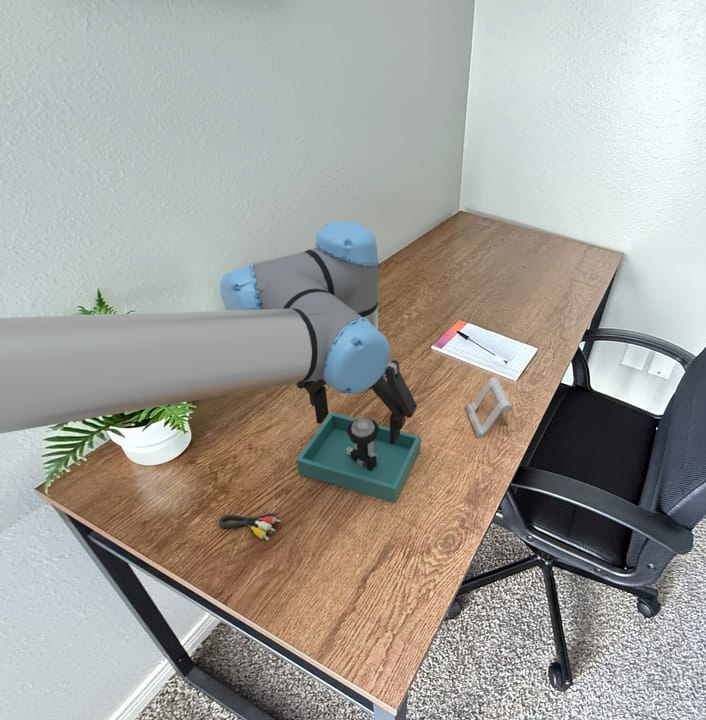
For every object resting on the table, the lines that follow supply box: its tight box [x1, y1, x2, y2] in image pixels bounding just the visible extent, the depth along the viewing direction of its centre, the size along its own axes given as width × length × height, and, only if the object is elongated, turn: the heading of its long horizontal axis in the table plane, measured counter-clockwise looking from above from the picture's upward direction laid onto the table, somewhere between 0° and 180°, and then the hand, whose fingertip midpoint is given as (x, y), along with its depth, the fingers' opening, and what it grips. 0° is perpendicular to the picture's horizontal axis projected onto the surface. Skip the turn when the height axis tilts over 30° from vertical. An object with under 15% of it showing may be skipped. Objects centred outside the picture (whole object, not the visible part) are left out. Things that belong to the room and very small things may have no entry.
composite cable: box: [218, 512, 282, 541], centre depth 74 cm, size 10×5×2 cm, turn 75°
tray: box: [295, 411, 422, 504], centre depth 86 cm, size 19×13×4 cm
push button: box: [346, 417, 379, 471], centre depth 84 cm, size 7×5×10 cm
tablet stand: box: [464, 376, 513, 438], centre depth 97 cm, size 9×8×8 cm
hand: (358, 428), depth 81 cm, fingers open, 13 cm apart
